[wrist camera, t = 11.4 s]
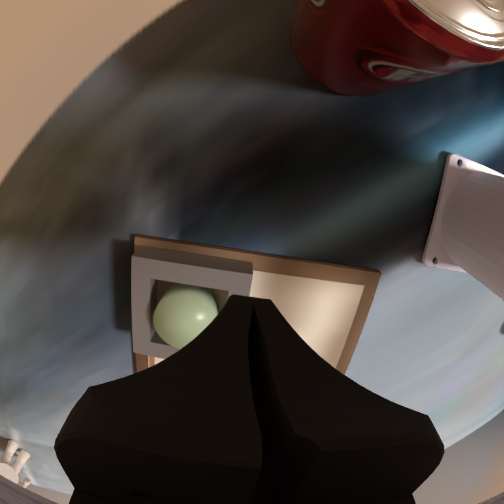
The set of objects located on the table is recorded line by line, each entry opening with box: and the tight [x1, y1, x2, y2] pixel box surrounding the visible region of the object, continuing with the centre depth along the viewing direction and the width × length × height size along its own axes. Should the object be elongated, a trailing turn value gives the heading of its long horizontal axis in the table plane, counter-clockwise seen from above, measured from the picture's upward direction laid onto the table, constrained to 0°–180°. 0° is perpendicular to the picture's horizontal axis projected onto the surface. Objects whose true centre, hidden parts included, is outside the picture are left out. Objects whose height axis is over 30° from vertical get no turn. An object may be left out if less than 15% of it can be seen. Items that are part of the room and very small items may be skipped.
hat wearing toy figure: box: [0, 440, 30, 488], centre depth 24 cm, size 9×4×12 cm, turn 36°
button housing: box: [131, 246, 253, 359], centre depth 20 cm, size 7×7×2 cm
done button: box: [153, 283, 219, 349], centre depth 19 cm, size 4×4×2 cm
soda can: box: [290, 0, 504, 97], centre depth 10 cm, size 7×7×12 cm
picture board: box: [134, 234, 381, 375], centre depth 23 cm, size 16×18×1 cm
